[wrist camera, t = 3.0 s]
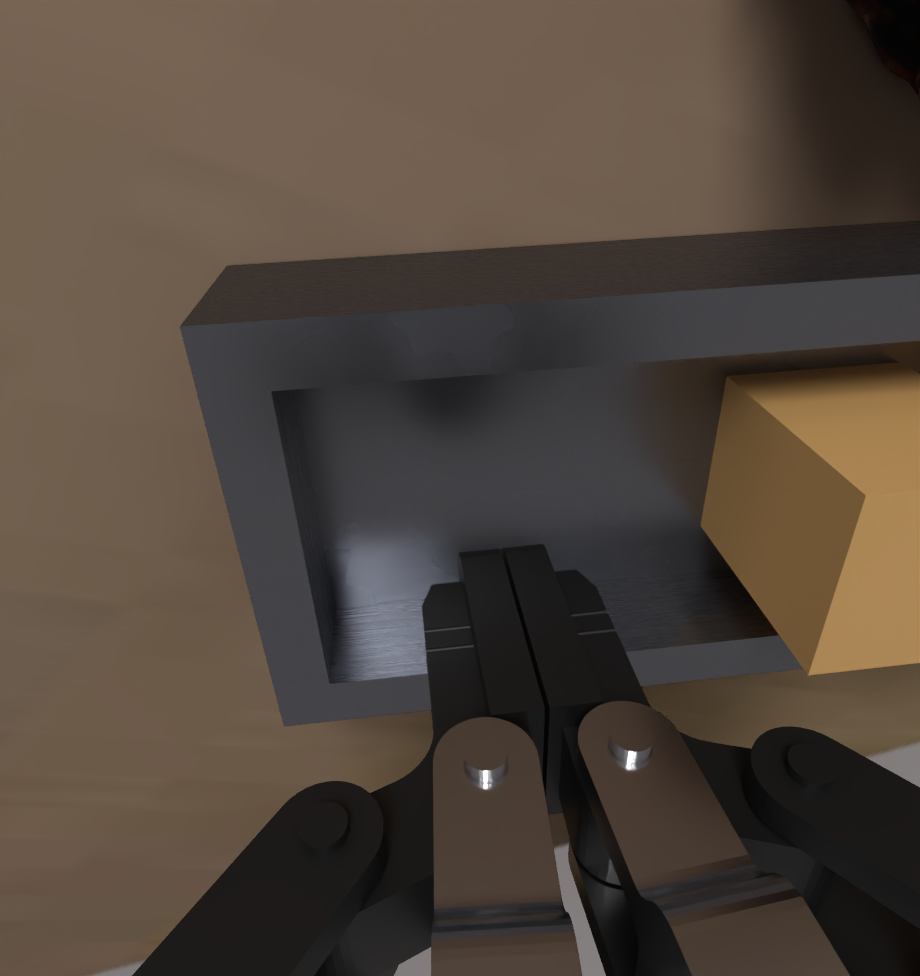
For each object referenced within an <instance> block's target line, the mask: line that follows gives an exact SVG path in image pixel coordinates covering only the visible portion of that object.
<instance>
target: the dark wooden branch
mask: <svg viewBox="0 0 920 976" xmlns="http://www.w3.org/2000/svg"><path fill="white" fill-rule="evenodd" d="M847 1H848V2H849V3H850V4H851V5H852V7H853V8H854V9H855V10H856V11H857V13H858V14H859V15H860V16H861V17H862V18H863V20H864V21H865V23H866V26H867V28H868V30H869V32H870V35H871V37H872V39H873V41H874V44H875V46H876V48H877V50H878V53H879V55H880V57H881V59H882V62H883V64H884V66H885V67H886V68H887V69H889V70H890V71H891V72H892V73H894V74H895V75H897V76H899V77H901V78H902V79H904V80H906V81H908V82H909V83H910V84H911V86H912V87H913V89H914V90H915V92H916V93H917V95H918V96H919V98H920V0H847Z"/></svg>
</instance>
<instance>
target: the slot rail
mask: <svg viewBox="0 0 920 976" xmlns="http://www.w3.org/2000/svg"><path fill="white" fill-rule="evenodd" d="M180 329H181V333H182V337H183V341H184V344H185V348H186V352H187V356H188V360H189V364H190V368H191V371H192V375H193V379H194V383H195V387H196V391H197V394H198V398H199V402H200V406H201V410H202V414H203V417H204V421H205V425H206V429H207V433H208V437H209V440H210V444H211V448H212V452H213V456H214V460H215V463H216V467H217V471H218V475H219V479H220V483H221V486H222V490H223V494H224V498H225V502H226V506H227V510H228V513H229V517H230V521H231V525H232V529H233V533H234V536H235V540H236V544H237V548H238V552H239V556H240V559H241V563H242V567H243V571H244V575H245V579H246V582H247V586H248V590H249V594H250V598H251V602H252V605H253V609H254V613H255V617H256V621H257V625H258V629H259V632H260V636H261V640H262V644H263V648H264V652H265V655H266V659H267V663H268V667H269V671H270V675H271V678H272V682H273V686H274V690H275V694H276V698H277V701H278V705H279V709H280V713H281V717H282V721H283V724H284V726H293V725H302V724H311V723H320V722H329V721H338V720H347V719H355V718H364V717H373V716H382V715H391V714H400V713H409V712H418V711H427V710H431V702H430V692H429V682H428V672H427V661H426V649H425V638H424V627H423V615H422V604H423V602H424V600H425V598H426V596H427V594H428V592H429V589H430V587H431V585H432V584H442V583H452V582H459V570H458V552H468V551H478V550H488V549H498V548H499V549H500V551H501V549H502V548H506V547H516V546H526V545H536V544H543V545H544V546H545V548H546V550H547V553H548V555H549V558H550V561H551V563H552V566H553V569H554V571H555V572H557V571H566V570H578V571H579V572H580V573H581V574H582V575H583V576H584V577H586V578H587V579H588V580H589V581H590V582H591V583H592V584H593V585H595V586H596V587H597V589H598V591H599V594H600V596H601V598H602V600H603V603H604V605H605V607H606V609H607V614H609V616H610V618H611V621H612V623H613V625H614V627H615V632H617V634H618V636H619V638H620V641H621V643H622V645H623V647H624V650H625V652H626V654H627V656H628V659H629V661H630V663H631V665H632V667H633V670H634V672H635V674H636V676H637V679H638V681H639V683H640V685H641V686H650V685H659V684H668V683H677V682H686V681H695V680H704V679H713V678H722V677H731V676H739V675H748V674H757V673H766V672H775V671H784V670H793V669H802V668H803V667H802V666H801V665H800V663H799V662H798V660H797V659H796V658H795V656H794V655H793V654H792V652H791V651H790V649H789V648H788V647H787V645H786V644H785V642H784V641H783V640H782V638H781V637H780V635H779V634H778V633H777V631H776V630H775V629H774V627H773V626H772V624H771V623H770V622H769V620H768V619H767V617H766V616H765V615H764V613H763V612H762V610H761V609H760V608H759V606H758V605H757V604H756V602H755V601H754V599H753V598H752V597H751V595H750V594H749V592H748V591H747V590H746V588H745V587H744V586H743V584H742V583H741V581H740V580H739V579H738V577H737V576H736V574H735V573H734V572H733V570H732V569H731V567H730V566H729V565H728V563H727V562H726V561H725V559H724V558H723V556H722V555H721V554H720V552H719V551H718V549H717V548H716V547H715V545H714V544H713V542H712V541H711V540H710V538H709V537H708V536H707V534H706V533H705V531H704V530H703V529H702V527H701V520H702V514H703V508H704V503H705V497H706V491H707V486H708V480H709V474H710V469H711V463H712V457H713V452H714V446H715V440H716V435H717V429H718V423H719V418H720V412H721V406H722V400H723V395H724V389H725V383H726V378H727V376H734V375H747V374H759V373H772V372H784V371H797V370H809V369H822V368H834V367H847V366H859V365H872V364H884V363H897V362H900V363H902V364H903V365H905V366H907V367H909V368H911V369H912V370H914V371H916V372H918V373H920V221H910V222H894V223H879V224H864V225H848V226H833V227H818V228H802V229H787V230H771V231H756V232H741V233H725V234H710V235H694V236H679V237H664V238H648V239H633V240H617V241H602V242H587V243H571V244H556V245H540V246H525V247H510V248H494V249H479V250H463V251H448V252H433V253H417V254H402V255H386V256H371V257H356V258H340V259H325V260H310V261H294V262H279V263H263V264H248V265H233V266H226V268H225V269H224V270H223V272H222V273H221V274H220V275H219V277H218V278H217V279H216V281H215V282H214V283H213V284H212V286H211V287H210V288H209V290H208V291H207V292H206V293H205V295H204V296H203V297H202V299H201V300H200V301H199V303H198V304H197V305H196V306H195V308H194V309H193V310H192V312H191V313H190V314H189V315H188V317H187V318H186V319H185V321H184V322H183V323H182V325H181V326H180Z"/></svg>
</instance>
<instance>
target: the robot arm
mask: <svg viewBox="0 0 920 976" xmlns="http://www.w3.org/2000/svg"><path fill="white" fill-rule="evenodd" d="M458 570H459V582H452V583H442V584H432V585H431V587H430V589H429V592H428V594H427V596H426V598H425V600H424V602H423V604H422V615H423V627H424V638H425V649H426V661H427V672H428V682H429V692H430V702H431V712H432V722H433V732H434V735H433V741H432V744H431V747H430V749H429V751H428V753H427V755H426V757H425V758H424V759H423V760H422V762H421V763H420V764H419V765H418V766H417V767H416V768H415V769H414V770H413V771H412V772H410V773H409V774H408V775H406V776H405V777H403V778H401V779H400V780H398V781H396V782H394V783H392V784H389V785H387V786H385V787H383V788H381V789H378V790H376V791H374V792H372V793H369V792H367V791H366V790H365V789H363V788H362V787H360V786H357V785H355V784H352V783H348V782H342V781H329V782H323V783H319V784H315V785H313V786H310V787H308V788H306V789H304V790H302V791H300V792H299V793H297V794H296V795H295V796H293V797H292V798H291V799H289V800H288V801H287V802H286V803H285V804H284V805H283V806H282V808H281V809H280V810H279V811H278V812H277V813H276V814H275V815H274V817H273V818H272V819H271V820H270V821H269V822H268V823H267V824H266V826H265V827H264V828H263V829H262V830H261V831H260V832H259V833H258V835H257V836H256V837H255V838H254V839H253V840H252V841H251V842H250V844H249V845H248V846H247V847H246V848H245V849H244V850H243V851H242V853H241V854H240V855H239V856H238V857H237V858H236V859H235V860H234V862H233V863H232V864H231V865H230V866H229V867H228V868H227V869H226V871H225V872H224V873H223V874H222V875H221V876H220V877H219V878H218V880H217V881H216V882H215V883H214V884H213V885H212V886H211V887H210V889H209V890H208V891H207V892H206V893H205V894H204V895H203V896H202V898H201V899H200V900H199V901H198V902H197V903H196V904H195V905H194V907H193V908H192V909H191V910H190V911H189V912H188V913H187V914H186V916H185V917H184V918H183V919H182V920H181V921H180V922H179V923H178V925H177V926H176V927H175V928H174V929H173V930H172V931H171V932H170V934H169V935H168V936H167V937H166V938H165V939H164V940H163V941H162V943H161V944H160V945H159V946H158V947H157V948H156V949H155V950H154V952H153V953H152V954H151V955H150V956H149V957H148V958H147V959H146V961H145V962H144V963H143V964H142V965H141V966H140V967H139V968H138V970H137V971H136V972H135V973H134V974H133V975H132V976H394V974H395V972H396V970H397V967H398V965H399V964H400V963H402V962H404V961H406V960H408V959H410V958H411V957H413V956H415V955H417V954H419V953H421V952H422V951H424V950H426V949H428V948H429V947H431V976H582V972H581V965H580V960H579V954H578V949H577V943H576V938H575V933H574V929H573V924H572V921H571V918H570V915H569V914H568V912H566V911H565V909H564V906H563V902H562V897H561V891H560V885H559V879H558V873H557V868H556V860H555V855H554V848H553V842H552V836H551V829H550V823H549V817H548V814H556V813H563V814H564V818H565V822H566V825H567V829H568V833H569V837H570V839H569V853H568V855H569V856H568V857H569V865H570V868H571V872H572V875H573V878H574V881H575V884H576V887H577V890H578V893H579V896H580V899H581V902H582V905H583V908H584V911H585V914H586V917H587V920H588V923H589V926H590V928H591V932H592V935H593V938H594V941H595V944H596V947H597V950H598V953H599V956H600V959H601V962H602V965H603V968H604V971H605V974H606V976H920V787H918V786H916V785H914V784H912V783H911V782H909V781H907V780H905V779H903V778H901V777H900V776H898V775H896V774H894V773H893V772H891V771H889V770H887V769H885V768H883V767H882V766H880V765H878V764H876V763H875V762H873V761H871V760H869V759H867V758H866V757H864V756H862V755H860V754H858V753H857V752H855V751H853V750H851V749H849V748H848V747H846V746H844V745H842V744H840V743H838V742H837V741H835V740H833V739H831V738H829V737H827V736H825V735H823V734H821V733H818V732H815V731H813V730H809V729H805V728H800V727H779V728H774V729H771V730H769V731H766V732H765V733H763V734H762V735H760V736H759V737H758V739H757V740H756V741H755V743H754V745H753V747H752V749H749V748H743V747H737V746H730V745H724V744H718V743H712V742H707V741H702V740H698V739H695V738H692V737H689V736H687V735H685V734H683V733H681V732H679V731H678V730H677V728H676V727H675V726H674V724H673V723H672V722H671V721H670V720H669V719H668V718H666V717H665V716H664V715H663V714H661V713H660V712H658V711H657V710H655V709H653V708H651V706H650V704H649V703H648V701H647V699H646V697H645V694H644V692H643V690H642V688H641V685H640V683H639V681H638V679H637V676H636V674H635V672H634V670H633V667H632V665H631V663H630V661H629V659H628V656H627V654H626V652H625V650H624V647H623V645H622V643H621V641H620V638H619V636H618V634H617V632H615V627H614V625H613V623H612V621H611V618H610V616H609V614H607V609H606V607H605V605H604V603H603V600H602V598H601V596H600V594H599V591H598V589H597V587H596V586H595V585H593V584H592V583H591V582H590V581H589V580H588V579H587V578H586V577H584V576H583V575H582V574H581V573H580V572H579V571H578V570H566V571H557V572H555V571H554V569H553V566H552V563H551V561H550V558H549V555H548V553H547V550H546V548H545V546H544V545H543V544H536V545H526V546H516V547H506V548H502V549H501V551H500V549H499V548H498V549H488V550H478V551H468V552H458Z"/></svg>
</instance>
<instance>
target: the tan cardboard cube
mask: <svg viewBox="0 0 920 976" xmlns="http://www.w3.org/2000/svg"><path fill="white" fill-rule="evenodd" d="M701 527H702V529H703V530H704V531H705V533H706V534H707V536H708V537H709V538H710V540H711V541H712V542H713V544H714V545H715V547H716V548H717V549H718V551H719V552H720V554H721V555H722V556H723V558H724V559H725V561H726V562H727V563H728V565H729V566H730V567H731V569H732V570H733V572H734V573H735V574H736V576H737V577H738V579H739V580H740V581H741V583H742V584H743V586H744V587H745V588H746V590H747V591H748V592H749V594H750V595H751V597H752V598H753V599H754V601H755V602H756V604H757V605H758V606H759V608H760V609H761V610H762V612H763V613H764V615H765V616H766V617H767V619H768V620H769V622H770V623H771V624H772V626H773V627H774V629H775V630H776V631H777V633H778V634H779V635H780V637H781V638H782V640H783V641H784V642H785V644H786V645H787V647H788V648H789V649H790V651H791V652H792V654H793V655H794V656H795V658H796V659H797V660H798V662H799V663H800V665H801V666H802V667H803V669H804V670H805V672H806V673H807V674H808V675H816V674H825V673H834V672H843V671H851V670H860V669H869V668H878V667H887V666H896V665H905V664H913V663H920V373H918V372H916V371H914V370H912V369H911V368H909V367H907V366H905V365H903V364H902V363H900V362H897V363H884V364H872V365H859V366H847V367H834V368H822V369H809V370H797V371H784V372H772V373H759V374H747V375H734V376H727V378H726V383H725V389H724V395H723V400H722V406H721V412H720V418H719V423H718V429H717V435H716V440H715V446H714V452H713V457H712V463H711V469H710V474H709V480H708V486H707V491H706V497H705V503H704V508H703V514H702V520H701Z"/></svg>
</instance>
